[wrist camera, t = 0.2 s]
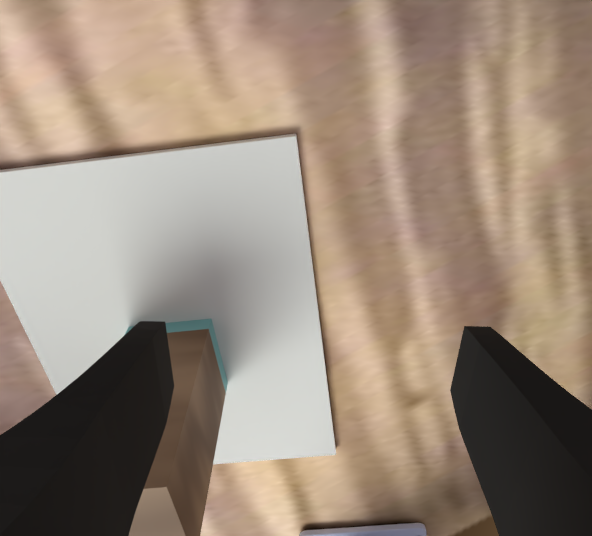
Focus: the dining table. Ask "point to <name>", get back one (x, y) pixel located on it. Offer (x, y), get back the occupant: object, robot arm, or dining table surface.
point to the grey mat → (179, 275)
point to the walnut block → (185, 435)
